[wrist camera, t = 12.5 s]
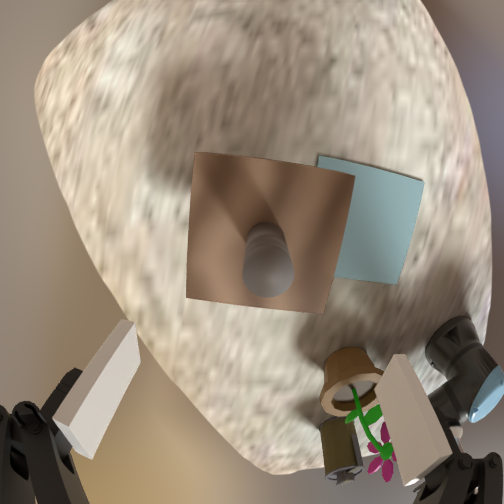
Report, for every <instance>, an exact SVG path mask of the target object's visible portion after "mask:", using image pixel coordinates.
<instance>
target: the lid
mask: <svg viewBox="0 0 504 504" xmlns="http://www.w3.org/2000/svg"><path fill="white" fill-rule="evenodd" d="M354 182H355V175H351V174H348V173H344V172H340V171H335V170H330V169H325V168H319V167H314V166H308V165H303V164H297V163H290V162H284V161H277V160H270V159H263V158H255V157H247V156H238V155H229V154H218V153H207V152H196V153H195V155H194V165H193V176H192V187H191V200H190V214H189V231H188V251H187V280H186V298H191V299H198V300H205V301H212V302H219V303H227V304H234V305H242V306H250V307H259V308H268V309H277V310H287V311H297V312H308V313H320V314H323V313H324V310H325V306H326V303H327V299H328V296H329V292H330V288H331V285H332V281H333V277H334V273H335V270H336V266H337V262H338V258H339V254H340V249H341V245H342V241H343V236H344V232H345V227H346V223H347V218H348V213H349V208H350V203H351V198H352V193H353V188H354Z"/></svg>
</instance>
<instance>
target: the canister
mask: <svg viewBox="0 0 504 504" xmlns="http://www.w3.org/2000/svg"><path fill="white" fill-rule="evenodd" d="M346 417H347V416H341V417H334V418H331V419H329V420H327V421H325V422H324V423H322V424H321V426H320V428H319V431H320V433H321V441H322V449H323V457H324V466H325V479H326V480H328V481H337V484H336V485H345V484H347V483H349V482H352V481H354V477H355V476H357V475H359V474H361V473H362V472H363V471H364V470H365V468H364V466H363V462H362V457H361V452H360V447H359V443H358V438H357V434H356V430H355V426H354V420H352V421H350V422H348V423H345V420H346Z"/></svg>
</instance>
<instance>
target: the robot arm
mask: <svg viewBox="0 0 504 504" xmlns="http://www.w3.org/2000/svg"><path fill="white" fill-rule="evenodd" d="M426 358H427V360H428V362H429V364H430V365H431V366H432V367H433V368H434V369H436V370H437V371H439V372H440V373H442V374H443V375H444V376H445V377H446V378H447V380H448V381H447V382H445V383H444V384H443V385H441V386H440V387H439V388H437V389H436V390H435V391H433V392H432V393H431V394H429V395H428V396H427V395H426V393H425V391H424V389H423V387H422V385H421V383H420V381H419V379H418V377H417V375H416V373H415V371H414V369H413V367H412V366H411V364H410V362H409V360H408V358H407V356H406V354H394V355H393V357H392V359H391V361H390V362H389V364H388V366H387V368H386V370H385V372H384V373H383V375H382V377H381V379H380V380H379V382H378V384H377V385H376V387H375V389H374V390H375V393H376V396H377V399H378V402H379V404H380V407H381V410H382V413H383V417H384V420H385V423H386V426H387V429H388V432H389V435H390V439H391V442H392V445H393V449H394V452H395V456H396V459H397V463H398V466H399V470H400V474H401V477H402V481H403V485H404V486H406V485H410V484H414V483H417V482H418V481H419V480H421V479H422V478H424V477H425V482H424V483H422V484H421V485H419V486H418V487H417V488H415V489H414V491H413V492H416V491H417V490H419V489H420V490H419V492H418V493H417V497H416V499H415V500H414V503H413V504H502V495H503V467H502V459H501V457H500V455H498V454H497V453H495V452H491V453H489V454H488V455H487V456H486V457H484V458H483V459H472V457H471V456H470V455H469V454H467V453H464V451H463V448H462V446H461V443H460V441H459V440H460V437H461V436H462V433H463V430H462V428H461V425H462V424H463V423H465V422H466V421H467V420H469V421H470V422H472V423H474V422H477V421H479V420H480V419H482V418H483V417H485V416H486V415H487V414H488V413H489V412H490V411H491V410H492V409H493V408H494V407H495V406H496V404H497V403H498V402H499V400H500V399H501V397H502V396H503V394H504V373H503V371H502V370H501V367H500V366H498V364H497V363H496V362H495V361H494V359H493V358H492V357H491V355H490V354H489V353H488V352H487V350H486V349H485V348H484V347H483V345H482V344H481V343H480V340H479V337H478V334H477V332H476V329H475V326H474V324H473V323H472V322H471V321H470V319H469V318H467V317H464V316H460V317H456V318H453V319H451V320H450V321H448V322H447V323H445V324H444V325H443V326H442V327H440V328H439V329H438V331H437V332H436V333H435V334H434V335H433V337H432V338H431V340H430V342H429V344H428V346H427V349H426ZM140 362H141V361H140V355H139V348H138V342H137V334H136V326H135V322H131V321H127V320H123V319H121V320H120V322H119V323H118V324H117V326H116V327H115V328H114V330H113V331H112V332H111V334H110V335H109V336H108V338H107V339H106V340H105V342H104V343H103V344H102V346H101V347H100V349H99V350H98V351H97V353H96V354H95V355H94V357H93V358H92V360H91V361H90V362H89V364H88V365H87V367H86V368H85V369H84V371H81V370H79V369H77V368H74V369H72V370H71V371H69V372H68V373H66V374H65V376H64V377H63V378H62V380H61V381H60V383H59V384H58V385H57V387H56V389H55V390H54V391H53V392H52V394H51V395H50V397H49V398H48V399H47V401H46V402H45V404H44V405H43V407H42V408H41V410H39V408H38V407H37V406H36V405H35V404H34V403H32V402H30V401H23V402H20V403H18V404H17V405H16V406H15V407H14V409H13V411H12V414H9V413H8V412H7V411H6V409H5V408H4V407H3V406H1V405H0V504H35V496H36V500H37V503H38V504H89V502H88V499H87V497H86V494H85V492H84V489H83V487H82V485H81V482H80V479H79V476H78V474H77V471H76V468H75V465H74V462H73V459H72V456H71V454H70V450H71V448H72V447H73V448H74V449H75V451H76V452H77V453H79V454H81V455H83V456H85V457H87V458H90V459H93V456H94V454H95V452H96V450H97V448H98V446H99V444H100V441H101V439H102V437H103V435H104V433H105V431H106V429H107V427H108V425H109V423H110V421H111V419H112V417H113V414H114V413H115V411H116V409H117V407H118V405H119V403H120V401H121V399H122V397H123V395H124V393H125V391H126V389H127V387H128V385H129V383H130V381H131V379H132V378H133V376H134V374H135V372H136V370H137V368H138V366H139V364H140Z"/></svg>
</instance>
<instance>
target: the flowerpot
mask: <svg viewBox="0 0 504 504" xmlns="http://www.w3.org/2000/svg"><path fill="white" fill-rule="evenodd" d="M383 373H384V371H382V370H380V369H378V368H376V367H375V366H374V364H373V363H372V361H371V360H370V358H369V356H368V355H367V353H366V352H365V351H364V350H362V349H360V348H358V347H345V348H343V349H340V350H338V351H335V352H334V353H333V354H332V355H331V356H330V357H329V358H328V359H327V360H326V363H325V366H324V386H323V388H322V391H321V394H320V402H321V405H322V407H323V409H324V410H325V412H326V413H328V414H331V415H334V416H338V417H341V416H347V417H346V420H345V423H348V422H350V421H352V420H354V419H355V418H356V417H357V416H359V419H360V422H361V424H362V426H363V428H364V431H365V433H366V435H367V437H368V438H369V440H370V441H371V442H369V443H368V446H367V447H368V449H369V451H370V452H373V453H379V452H380V456H379V457H377V458H375V459H374V460H373V461H372V462H371V463H370V465H369V468H368V473H369V474H371V473H373V472H376V471H377V470H378V469H379V468H380V466H381V465H382V461H383V460H385V462H384V464H383V466H382V476H383V478H384V480H385V482H388V481H390V480H391V477H392V475H393V463H392V462H391V461H390V458H391V457H393V460H394V461H397V459H396V456H395V452H394V449H393V445H392V442H391V443H390V442H389V440H390V435H389V432H388V429H387V426H386V423H385V422H383V424H382V427H381V440H382V441H383V443H384V445H383V446H382V445H381V443H380V442H377V441H376V439H375V438H374V437H373V435H372V434H371V432H370V430H369V428H368V425H371V424H373V423H375V422H376V421H377V420H378V419H379V418H380V417H381V416H382V415H383V413H382V410H381V407H380V404H378V403H379V402H378V399H377V396H376V393H375V390H374V389H375V387H376V385H377V384H378V382H379V380H380V379H381V377H382V375H383ZM376 404H378V405H376ZM375 405H376V406H375ZM367 410H369V411H368V412H367V414H366V415H365V416H363V412H365V411H367Z"/></svg>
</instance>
